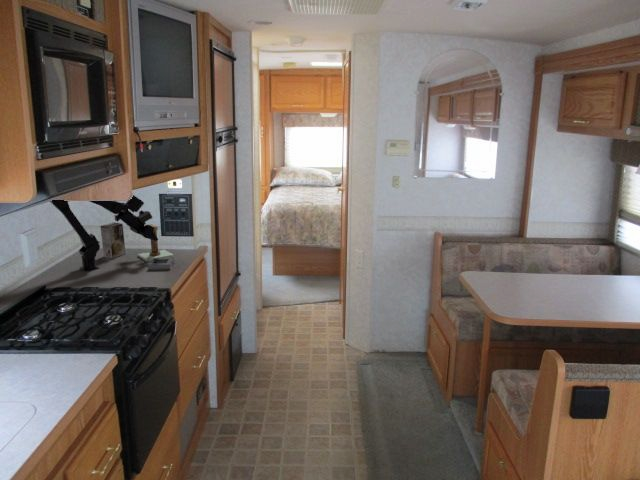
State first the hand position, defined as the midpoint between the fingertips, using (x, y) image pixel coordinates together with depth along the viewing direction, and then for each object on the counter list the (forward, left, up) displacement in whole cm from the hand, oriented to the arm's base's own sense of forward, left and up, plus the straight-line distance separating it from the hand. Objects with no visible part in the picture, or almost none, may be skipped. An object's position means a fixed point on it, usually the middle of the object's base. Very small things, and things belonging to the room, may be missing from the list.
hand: (154, 238), depth 269 cm
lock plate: (+17, -6, -10) cm, 20 cm away
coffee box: (-17, -14, -10) cm, 24 cm away
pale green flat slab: (0, 0, -10) cm, 10 cm away
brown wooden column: (0, 0, -8) cm, 8 cm away
